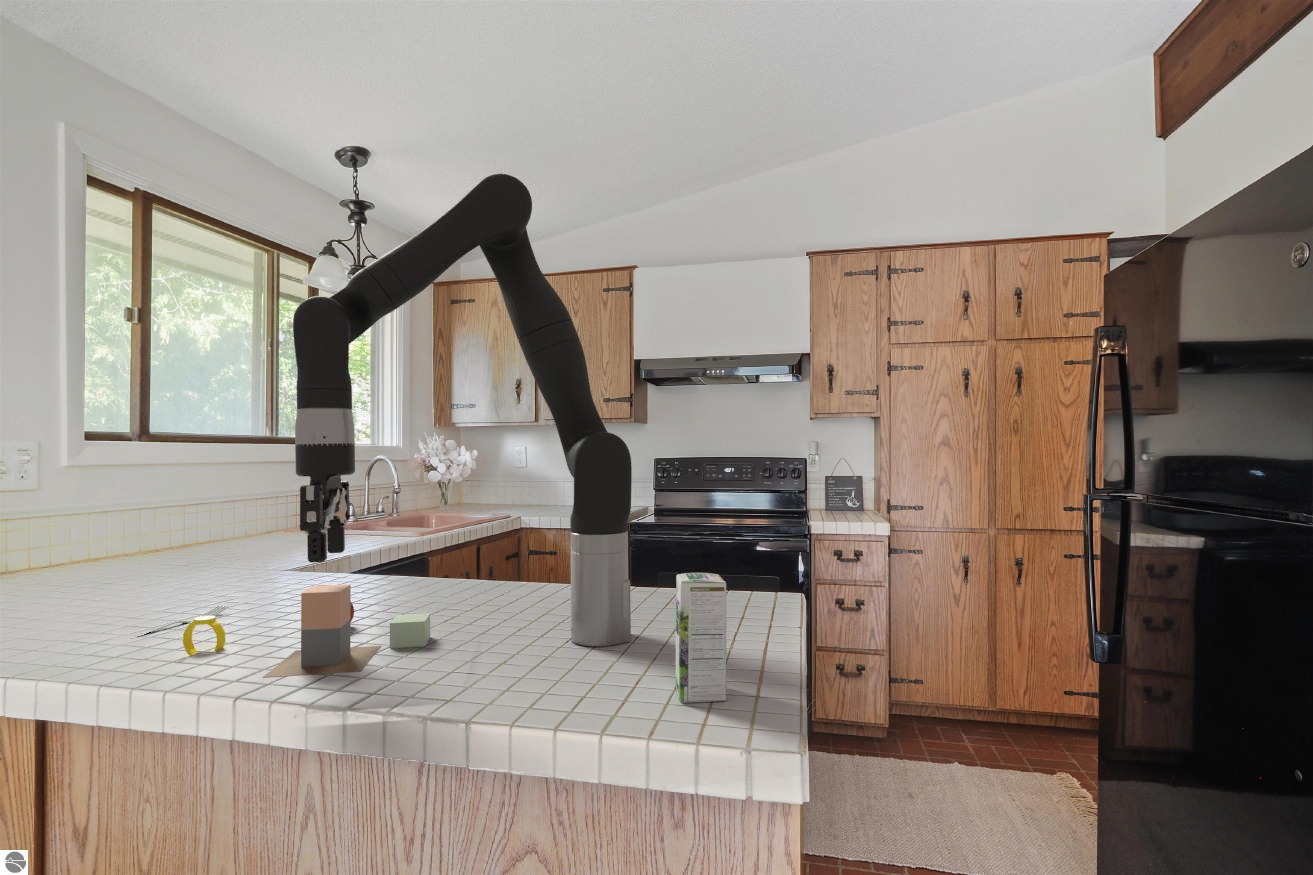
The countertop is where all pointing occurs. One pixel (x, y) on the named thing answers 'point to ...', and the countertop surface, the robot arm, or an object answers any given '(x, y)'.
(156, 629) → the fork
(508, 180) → the robot arm
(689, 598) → the syrup box
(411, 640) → the sage brick
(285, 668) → the walnut board
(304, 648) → the charcoal brick
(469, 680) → the countertop surface
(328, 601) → the terracotta brick
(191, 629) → the watch
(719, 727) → the countertop surface
